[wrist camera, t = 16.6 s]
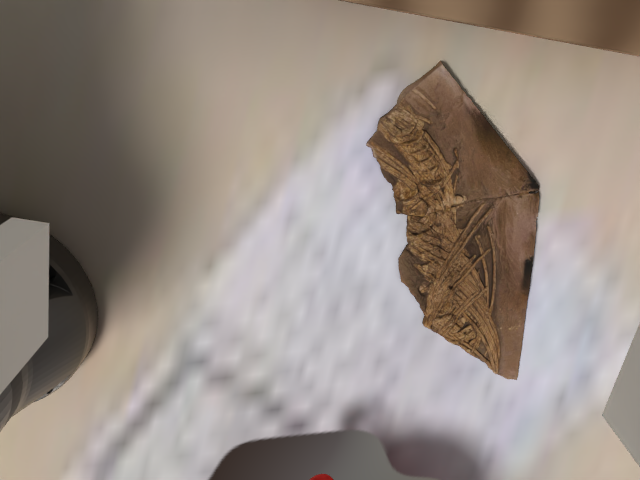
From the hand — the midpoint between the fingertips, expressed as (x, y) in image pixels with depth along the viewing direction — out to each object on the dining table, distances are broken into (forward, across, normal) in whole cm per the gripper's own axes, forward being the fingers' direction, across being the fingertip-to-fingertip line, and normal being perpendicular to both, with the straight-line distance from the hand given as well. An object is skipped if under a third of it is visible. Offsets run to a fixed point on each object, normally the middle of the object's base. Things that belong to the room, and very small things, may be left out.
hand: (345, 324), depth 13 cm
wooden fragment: (+29, +12, -7) cm, 32 cm away
